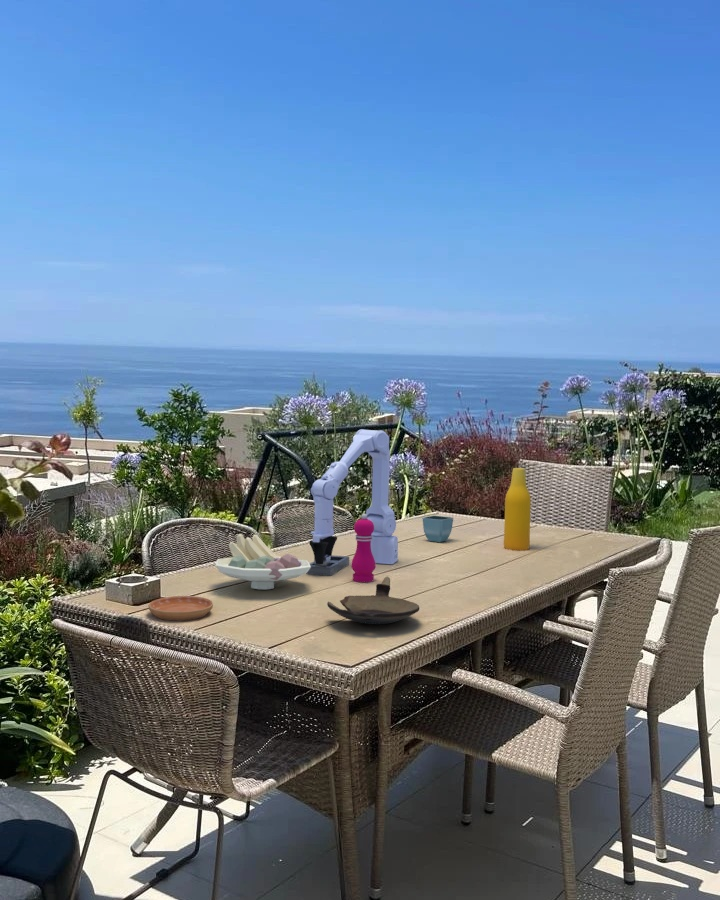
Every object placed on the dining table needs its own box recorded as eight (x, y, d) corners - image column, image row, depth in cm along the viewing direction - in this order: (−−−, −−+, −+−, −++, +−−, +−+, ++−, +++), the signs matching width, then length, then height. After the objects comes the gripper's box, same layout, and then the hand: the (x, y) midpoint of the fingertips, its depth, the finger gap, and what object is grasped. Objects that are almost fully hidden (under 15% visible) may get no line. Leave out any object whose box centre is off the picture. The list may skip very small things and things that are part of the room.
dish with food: (250, 573, 277) (250, 527, 276) (329, 584, 265) (330, 536, 264) (193, 591, 253) (193, 541, 252) (277, 604, 240) (278, 551, 239)
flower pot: (433, 538, 347) (433, 515, 346) (453, 540, 342) (454, 517, 341) (421, 541, 340) (421, 517, 339) (441, 544, 335) (442, 520, 334)
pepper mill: (363, 576, 276) (364, 511, 275) (380, 580, 271) (381, 514, 269) (346, 579, 271) (347, 513, 270) (363, 583, 266) (364, 516, 264)
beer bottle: (534, 549, 327) (537, 469, 325) (516, 551, 322) (518, 470, 320) (516, 545, 335) (519, 466, 333) (498, 547, 330) (500, 467, 327)
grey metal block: (330, 571, 283) (330, 554, 283) (326, 573, 279) (326, 556, 279) (318, 570, 284) (318, 553, 284) (313, 572, 280) (314, 555, 280)
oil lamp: (307, 626, 219) (308, 594, 219) (372, 602, 244) (373, 573, 244) (387, 641, 207) (387, 608, 207) (447, 614, 232) (447, 584, 232)
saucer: (210, 623, 221) (210, 610, 221) (143, 623, 220) (143, 611, 220) (215, 606, 237) (215, 595, 237) (153, 607, 236) (153, 595, 236)
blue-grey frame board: (349, 564, 294) (349, 556, 294) (330, 575, 276) (330, 567, 276) (325, 562, 296) (325, 555, 296) (305, 573, 278) (305, 565, 278)
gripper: (319, 514, 289) (318, 556, 289) (303, 520, 275) (303, 565, 276) (340, 515, 286) (339, 558, 287) (325, 522, 273) (325, 566, 274)
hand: (323, 561), depth 281 cm, fingers open, 7 cm apart
